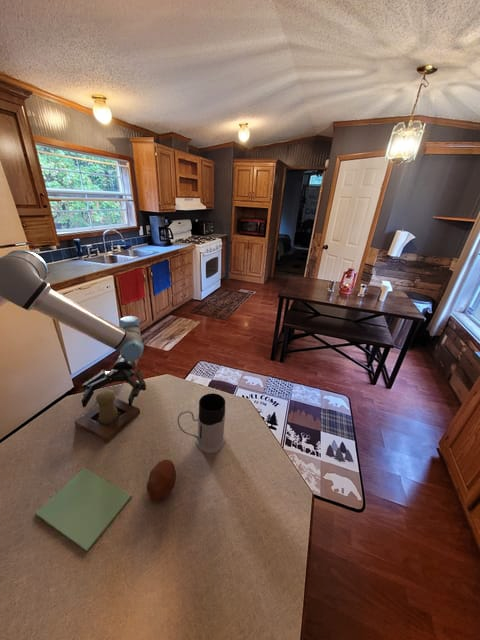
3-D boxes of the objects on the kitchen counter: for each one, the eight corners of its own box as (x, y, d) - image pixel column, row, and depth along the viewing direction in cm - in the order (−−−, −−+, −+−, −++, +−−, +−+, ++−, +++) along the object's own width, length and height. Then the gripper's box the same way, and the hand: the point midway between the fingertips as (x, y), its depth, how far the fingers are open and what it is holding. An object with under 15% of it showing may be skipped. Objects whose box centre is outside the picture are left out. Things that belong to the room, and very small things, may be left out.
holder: (75, 426, 78) (74, 421, 77) (110, 400, 90) (110, 395, 89) (107, 443, 74) (106, 437, 73) (140, 413, 86) (140, 408, 85)
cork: (100, 414, 84) (95, 387, 79) (120, 411, 85) (117, 385, 81) (97, 428, 78) (91, 400, 74) (118, 425, 80) (114, 397, 76)
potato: (138, 498, 61) (135, 481, 58) (162, 466, 69) (161, 449, 66) (162, 511, 59) (161, 493, 56) (184, 476, 67) (184, 459, 64)
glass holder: (228, 448, 76) (231, 409, 70) (180, 461, 71) (180, 421, 65) (219, 426, 83) (222, 389, 77) (175, 437, 78) (174, 398, 72)
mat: (35, 514, 56) (34, 512, 56) (84, 469, 66) (84, 467, 66) (87, 552, 51) (86, 550, 51) (132, 496, 61) (131, 495, 61)
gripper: (159, 372, 102) (149, 411, 83) (92, 373, 98) (65, 413, 79) (158, 356, 99) (147, 392, 80) (90, 356, 95) (61, 394, 76)
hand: (106, 403), depth 79 cm, fingers open, 13 cm apart
